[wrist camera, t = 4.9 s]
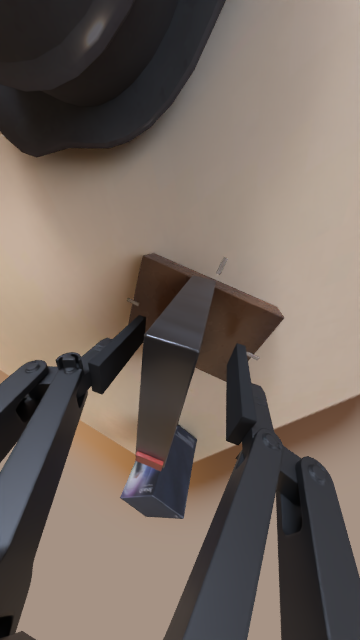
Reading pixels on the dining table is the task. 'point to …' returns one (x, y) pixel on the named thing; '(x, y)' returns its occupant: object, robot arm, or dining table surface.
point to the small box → (163, 481)
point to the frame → (170, 368)
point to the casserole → (94, 67)
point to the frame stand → (224, 315)
